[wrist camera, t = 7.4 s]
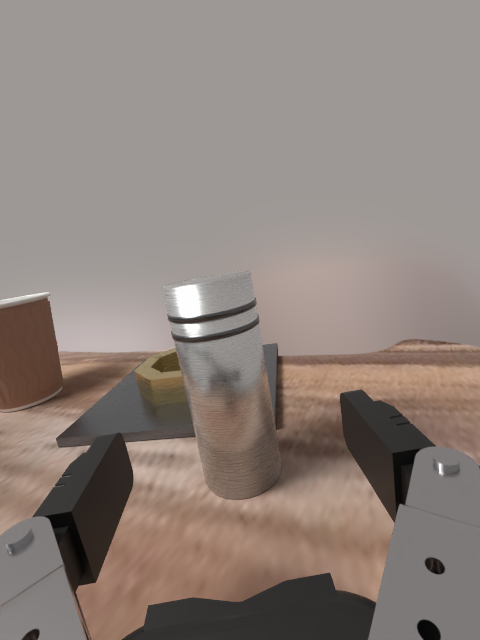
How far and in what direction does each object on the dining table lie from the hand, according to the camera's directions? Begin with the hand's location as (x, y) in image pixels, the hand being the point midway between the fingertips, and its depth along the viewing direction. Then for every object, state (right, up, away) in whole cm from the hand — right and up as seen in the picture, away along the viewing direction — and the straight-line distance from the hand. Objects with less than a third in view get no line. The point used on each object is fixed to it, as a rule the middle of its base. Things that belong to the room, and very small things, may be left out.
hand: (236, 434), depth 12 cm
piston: (0, -5, +8) cm, 10 cm away
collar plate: (-5, -3, +22) cm, 23 cm away
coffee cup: (-25, -6, +27) cm, 38 cm away
